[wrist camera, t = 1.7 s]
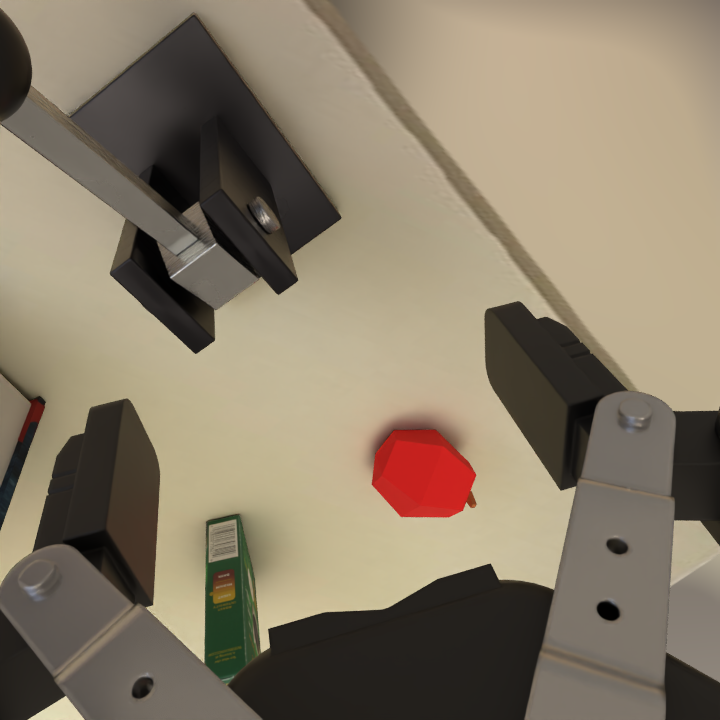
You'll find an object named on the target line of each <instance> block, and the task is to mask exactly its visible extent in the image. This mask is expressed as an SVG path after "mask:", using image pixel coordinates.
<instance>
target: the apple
mask: <svg viewBox="0 0 720 720" xmlns="http://www.w3.org/2000/svg"><path fill="white" fill-rule="evenodd" d="M475 477H476V474H475V472H474V470H473V468H472V467H471V465H470V463H469V462H468V461H467V460H466V459H465V458H464V457H463V456H462V455H461V454H460V453H459V452H458V451H457V450H456V449H455V448H454V447H453V446H452V445H451V444H450V443H449V442H448V441H447V440H446V439H445V438H444V437H443V436H442V435H441V434H440V433H438V432H437V431H436V430H394V431H393V432H392V433H391V435H390V436H389V437H388V438H387V440H386V441H385V442H384V443H383V445H382V446H381V447H380V448H379V450H378V451H377V452H376V453H375V462H374V470H373V479H372V485H373V486H374V487H375V489H376V490H377V491H378V492H379V493H380V494H381V495H382V496H383V497H384V499H385V500H386V501H387V502H388V503H389V504H390V505H391V506H392V507H393V509H394V510H395V511H396V512H397V513H398V514H399V515H400V516H401V517H450V516H453V515H455V514H457V513H459V512H461V511H463V509H464V506H465V504H466V502H467V503H468V505H469V506H470V507H471V508H475V506H476V505H477V504H476V501H475V499H474V496H473V494H472V491H470V490H471V488H472V485H473V482H474V480H475Z"/></svg>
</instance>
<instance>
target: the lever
mask: <svg viewBox="0 0 720 720" xmlns="http://www.w3.org/2000/svg"><path fill="white" fill-rule="evenodd" d="M31 80H32V65H31V59H30V54H29V51H28V48H27V45H26V43H25V41H24V39H23V37H22V35H21V33H20V31H19V30H18V28H17V27H16V25H15V24H14V23H13V22H12V20H11V19H10V18H9V16H8V15H7V14H6V13H5V12H4V11H3V10H2V9H1V8H0V124H1V125H2V126H3V127H5V128H6V129H7V130H9V131H10V132H11V133H13V134H14V135H15V136H17V137H18V138H19V139H21V140H22V141H23V142H25V143H26V144H27V145H29V146H30V147H31V148H33V149H34V150H35V151H37V152H38V153H39V154H41V155H42V156H43V157H45V158H46V159H47V160H49V161H50V162H51V163H53V164H54V165H55V166H57V167H58V168H59V169H61V170H62V171H63V172H65V173H66V174H67V175H69V176H70V177H71V178H73V179H74V180H75V181H77V182H78V183H79V184H81V185H82V186H84V187H85V188H86V189H88V190H89V191H90V192H92V193H93V194H94V195H96V196H97V197H98V198H100V199H101V200H102V201H104V202H105V203H106V204H108V205H109V206H110V207H112V208H113V209H114V210H116V211H117V212H118V213H120V214H121V215H122V216H124V217H125V218H126V219H128V220H129V221H130V222H132V223H133V224H134V225H136V226H137V227H138V228H140V229H141V230H142V231H144V232H145V233H146V234H148V235H149V236H150V237H152V238H153V239H154V240H156V243H157V245H158V248H159V251H160V253H161V256H162V259H163V261H164V264H165V267H166V270H167V272H168V275H169V278H170V279H171V280H173V281H174V282H176V283H177V284H178V285H180V286H181V287H183V288H184V289H186V290H187V291H189V292H190V293H191V294H193V295H194V296H196V297H197V298H199V299H200V300H202V301H203V302H204V303H206V304H207V305H209V306H210V307H212V308H213V309H215V310H217V309H219V308H220V307H222V306H223V305H224V304H226V303H227V302H229V301H230V300H231V299H233V298H234V297H235V296H237V295H238V294H240V293H241V292H242V291H244V290H245V289H247V288H248V287H249V286H251V285H252V284H253V283H255V282H256V281H258V280H259V277H258V275H257V273H256V271H255V269H254V268H253V267H252V265H251V264H250V263H249V262H248V261H247V260H246V259H245V257H244V256H243V255H242V254H241V253H240V252H239V251H238V249H237V248H236V247H235V246H234V245H233V244H232V243H231V242H230V240H229V239H228V238H227V237H226V236H225V235H224V234H223V232H222V231H221V230H220V229H219V228H218V227H217V226H216V225H215V223H214V222H213V221H212V220H211V219H210V218H209V217H208V215H207V214H206V213H205V212H204V211H203V210H202V209H201V208H200V205H199V202H196V203H195V204H194V205H193V206H191V207H190V208H189V209H187V210H186V211H185V212H183V213H181V212H180V211H178V210H177V209H176V208H175V207H174V206H172V205H171V204H170V203H169V202H168V201H167V200H165V199H164V198H163V197H162V196H161V195H160V194H158V193H157V192H156V191H155V190H154V189H152V188H151V187H150V186H149V185H148V184H147V183H145V182H144V181H143V180H142V179H141V178H140V177H138V176H137V175H136V174H135V173H134V172H132V171H131V170H130V169H129V168H128V167H127V166H125V165H124V164H123V163H122V162H121V161H120V160H118V159H117V158H116V157H115V156H114V155H112V154H111V153H110V152H109V151H108V150H107V149H105V148H104V147H103V146H102V145H101V144H100V143H98V142H97V141H96V140H95V139H94V138H93V137H91V136H90V135H89V134H88V133H87V132H85V131H84V130H83V129H82V128H81V127H80V126H78V125H77V124H76V123H75V122H74V121H73V120H71V119H70V118H69V117H68V116H67V115H65V114H64V113H63V112H62V111H61V110H60V109H58V108H57V107H56V106H55V105H54V104H53V103H51V102H50V101H49V100H48V99H47V98H45V97H44V96H43V95H42V94H41V93H40V92H38V91H37V90H36V89H35V88H34V87H33V86H31Z"/></svg>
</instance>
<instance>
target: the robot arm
mask: <svg viewBox="0 0 720 720" xmlns="http://www.w3.org/2000/svg"><path fill="white" fill-rule="evenodd" d="M485 362H486V370H487V375H488V378H489V381H490V384H491V386H492V388H493V390H494V391H495V393H496V394H497V396H498V397H499V399H500V400H501V402H502V403H503V405H504V406H505V408H506V409H507V411H508V412H509V414H510V415H511V417H512V418H513V420H514V421H515V423H516V424H517V426H518V427H519V429H520V430H521V432H522V433H523V435H524V436H525V438H526V439H527V441H528V442H529V444H530V445H531V447H532V448H533V450H534V451H535V453H536V454H537V456H538V457H539V459H540V460H541V462H542V463H543V465H544V466H545V468H546V469H547V471H548V472H549V474H550V475H551V477H552V478H553V480H554V481H555V483H556V484H557V486H558V487H559V489H560V490H565V489H568V488H572V487H575V486H576V491H575V496H574V500H573V505H572V510H571V514H570V519H569V524H568V528H567V533H566V537H565V542H564V547H563V551H562V556H561V561H560V565H559V570H558V575H557V579H556V584H555V589H554V590H553V589H550V588H548V587H545V586H541V585H538V584H535V583H530V582H524V581H516V580H498V578H497V576H496V573H495V571H494V569H493V567H492V565H491V564H487V565H484V566H481V567H477V568H474V569H470V570H467V571H464V572H460V573H457V574H453V575H450V576H447V577H443V578H440V579H437V580H435V581H434V582H432V583H430V584H428V585H427V586H425V587H423V588H422V589H420V590H418V591H417V592H415V593H413V594H411V595H410V596H408V597H406V598H405V599H403V600H401V601H399V602H398V603H396V604H394V605H393V606H391V607H389V608H386V609H383V610H367V611H345V612H324V613H321V614H318V615H314V616H311V617H307V618H304V619H301V620H297V621H294V622H290V623H287V624H284V625H280V626H277V627H273V628H270V629H268V632H269V641H270V648H269V649H267V650H266V651H264V652H262V653H261V654H259V655H258V656H257V657H255V658H254V659H253V660H251V661H250V662H249V663H248V664H247V665H246V666H244V667H243V668H242V669H241V670H240V671H239V672H238V673H237V674H236V675H235V677H234V678H233V679H232V680H231V681H230V682H229V683H228V684H227V685H226V684H225V683H224V682H223V681H222V680H221V679H220V678H219V677H218V676H217V675H216V674H214V673H213V672H212V671H211V670H210V669H209V668H208V667H207V666H206V665H205V664H204V663H203V662H202V661H201V660H200V659H199V658H198V657H197V656H196V655H194V654H193V653H192V652H191V651H190V650H189V649H188V648H187V647H186V646H185V645H184V644H183V643H182V642H181V641H180V640H179V639H178V638H177V637H176V636H175V635H173V634H172V633H171V632H170V631H169V630H168V629H167V628H166V627H165V626H164V625H163V624H162V623H161V622H160V621H159V620H158V619H157V618H156V617H155V616H154V615H152V614H151V613H150V612H149V611H148V610H147V609H146V608H145V607H148V606H152V605H153V597H154V579H155V560H156V541H157V523H158V504H159V485H160V470H159V463H158V459H157V455H156V452H155V450H154V447H153V445H152V443H151V441H150V439H149V437H148V435H147V433H146V431H145V429H144V427H143V425H142V423H141V421H140V419H139V416H138V414H137V412H136V410H135V408H134V406H133V404H132V403H131V401H130V400H129V399H127V398H126V399H122V400H118V401H114V402H110V403H106V404H102V405H98V406H94V407H91V408H90V410H89V414H88V419H87V423H86V428H85V433H83V434H79V435H75V436H71V437H70V439H69V440H68V442H67V443H66V444H65V446H64V447H63V448H62V450H61V451H60V452H59V454H58V455H57V457H56V461H55V465H54V469H53V473H52V478H53V479H51V481H50V485H49V489H48V494H49V495H48V496H47V497H46V501H45V505H44V509H43V513H42V516H41V520H40V524H39V528H38V532H37V536H36V540H35V544H34V548H33V552H32V553H31V554H29V555H28V556H26V557H25V558H23V559H22V560H21V561H19V562H18V563H17V564H16V565H15V566H14V567H13V568H12V569H11V570H10V571H9V573H8V574H7V575H6V577H5V578H4V580H3V581H2V583H1V586H0V720H28V719H29V718H31V717H32V716H34V715H36V714H37V713H39V712H40V711H42V710H44V709H45V708H47V707H49V706H50V705H52V704H53V703H55V702H57V701H58V700H60V699H61V698H63V697H65V696H67V698H68V699H69V700H70V701H71V703H72V704H73V705H74V706H75V708H76V709H77V710H78V712H79V713H80V714H81V715H82V717H83V718H84V719H85V720H720V683H719V682H718V681H716V680H714V679H712V678H711V677H709V676H707V675H705V674H703V673H702V672H700V671H698V670H697V669H695V668H693V667H691V666H690V665H688V664H686V663H684V662H682V661H681V660H679V659H677V658H675V657H674V656H672V655H670V654H668V653H667V652H666V644H667V627H668V610H669V594H670V578H671V562H672V545H673V529H674V520H694V521H701V522H702V524H703V525H704V526H705V528H706V529H707V530H708V531H709V533H710V534H711V535H712V537H713V538H714V539H715V540H716V542H717V543H718V544H719V546H720V408H719V411H685V412H682V411H681V412H680V411H672V409H671V408H670V407H669V406H668V405H667V404H666V403H665V402H663V401H662V400H660V399H658V398H656V397H654V396H652V395H649V394H646V393H642V392H636V391H628V390H627V389H626V388H625V387H624V386H623V385H622V384H621V383H620V382H619V381H618V380H617V379H616V378H615V377H614V376H613V374H612V373H611V372H610V371H609V370H608V369H607V368H606V367H605V366H604V365H603V364H602V363H601V362H600V361H599V360H598V359H597V358H596V357H595V356H594V355H593V354H590V350H589V349H588V348H587V347H586V346H585V345H584V344H583V343H580V341H579V339H578V338H577V337H576V336H575V335H574V334H573V333H572V332H571V331H570V330H569V329H568V327H567V326H565V325H563V324H561V323H558V322H556V321H554V320H552V319H550V318H548V317H543V318H539V319H536V318H535V317H534V316H533V315H532V314H531V312H530V311H529V310H528V309H527V308H526V307H525V306H524V305H523V304H522V303H521V302H519V301H517V302H513V303H509V304H505V305H501V306H497V307H493V308H489V309H487V310H486V312H485Z"/></svg>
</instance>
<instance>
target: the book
mask: <svg viewBox="0 0 720 720" xmlns="http://www.w3.org/2000/svg"><path fill="white" fill-rule="evenodd" d="M45 403H46V402H45V401H44V400H43V399H42V398H41V397H38V398H36V399H34V400H31V401H28V400H27V399H26V398H25V397H24V396H23V395H22V394H21V393H20V392H19V391H18V390H17V389H16V388H15V387H14V386H13V385H12V384H11V383H10V382H8V381H7V380H6V379H5V378H4V377H3V376H2V375H1V374H0V530H1V527H2V524H3V522H4V519H5V516H6V513H7V510H8V507H9V505H10V502H11V499H12V496H13V493H14V491H15V488H16V485H17V482H18V479H19V476H20V474H21V471H22V468H23V465H24V462H25V459H26V457H27V454H28V451H29V448H30V445H31V443H32V440H33V437H34V435H35V432H36V429H37V427H38V424H39V422H40V419H41V416H42V414H43V411H44V408H45Z"/></svg>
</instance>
